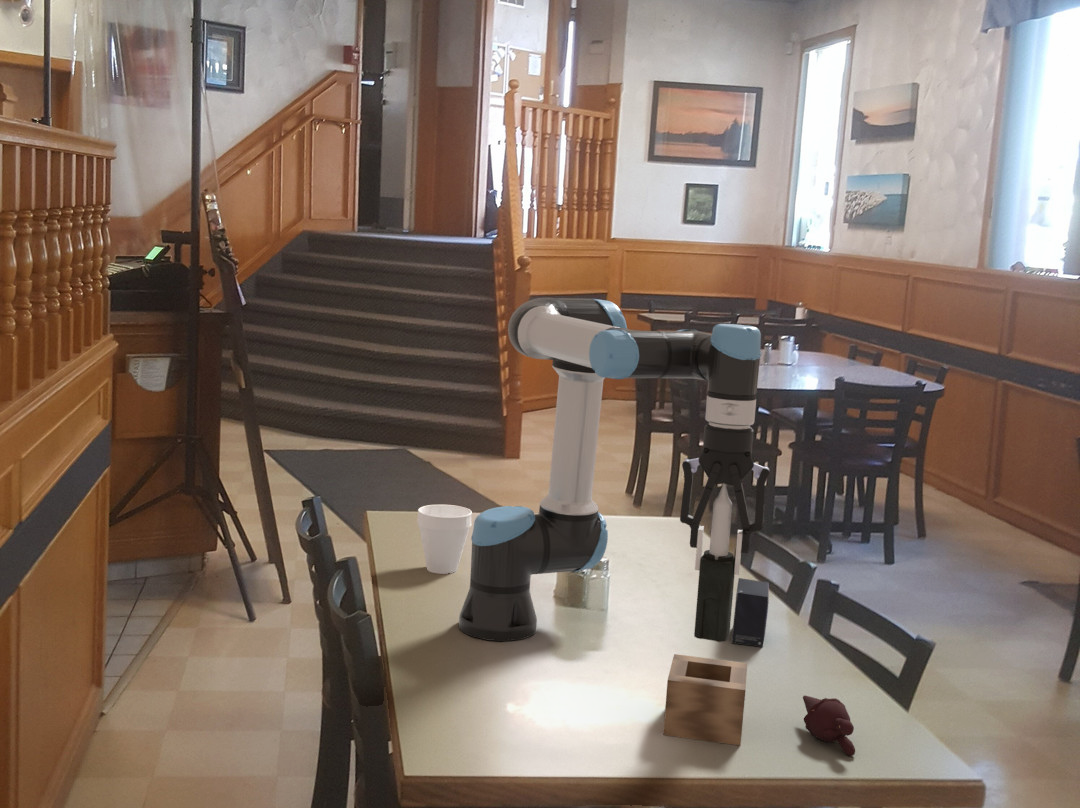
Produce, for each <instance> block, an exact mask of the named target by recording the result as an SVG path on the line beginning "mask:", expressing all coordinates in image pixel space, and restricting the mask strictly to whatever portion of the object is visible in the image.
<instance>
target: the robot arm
mask: <svg viewBox="0 0 1080 808" xmlns="http://www.w3.org/2000/svg"><path fill="white" fill-rule="evenodd" d="M507 328H508V329H507V333H508V339H509V341H510V344H511V345H512V346H513V348H514V349H515V350H516V352H518V353H520V354H521V355H523V356H525V357H528V358H531V359H535V360H536V359H537V360H551V361H552V364H551V367H552V369H553V370H554V371H555V373H556V374H557V375H558V384H557V396H556V397H557V398H556V405H555V406H556V408H555V418H554V428H553V439H552V450H551V462H550V473H549V484H548V493H547V495H546V496H545V497H543V498H542V499H541V500H540V501H539V509H538V513H534V511H533V509H531V508H529V507H526V506H519V505H516V506H512V505H505V506H498V507H493V508H489V509H487V510H484V511H482V512H480V513H479V514H478V515H477V516H476V517H475V519H474V521H473V528H472V535H471V538H470V539H471V555H470V556H471V558H470V559H471V560H470V579H469V580H470V581H469V590H468V592H467V595H466V597H465V599H464V602H463V605H462V607H461V610H460V613H459V617H458V628H459V630H460V631H461V632H463V633H464V634H466V635H467V636H471V637H474V638H477V639H481V640H488V641H496V642H497V641H498V642H500V641H501V642H502V641H503V642H504V641H507V642H508V641H517V640H522V639H523V640H524V639H527V638H529V637H531V636H533V635H534V634H535V633H536V632H537V625H538V624H537V623H538V620H537V614H536V611H535V607H534V602H533V599H532V596H531V591H530V590H531V586H530V585H531V577H532V576H533V575H541V574H555V573H556V574H557V573H577V572H580V571H585V570H590V569H593V568H595V566H596V565H598V564H599V563H600V562H601V560H602V559H603V558H604V556H605V553H606V551H607V545H608V539H609V536H608V535H609V534H608V531H609V530H608V529H607V521H606V519H605V517H604V516H603V514H601V513H600V512H599V506H598V504H597V503H596V502H595V500H593V490H594V489H593V488H594V479H595V468H596V459H597V449H598V448H597V447H598V438H599V429H600V419H601V418H600V417H601V409H602V408H601V407H602V397H603V388H604V380H605V379H613V380H624V379H696V380H700V381H706V382H707V392H706V403H705V404H706V405H705V406H706V407H705V417H704V419H705V421H707V423H706V424H705V426H704V432H703V442H702V451H701V453H700V454H699V457H697V458H692V459H689V458H685V459H684V460H683V462H682V470H683V475H684V478H683V479H684V482H683V489H682V496H681V498H682V499H681V508H680V516H679V522H680V523H682V524H686V525H688V526H689V528H690V536H689V546H690V548H694V549H696V553H695V564H694V565H695V566H694V570H695V571H699V570H700V559H701V557H702V556H703V543H704V531H705V530H704V529H705V525H700V523H701V521H702V519H703V515H704V513H705V510H706V508H707V505H708V502H709V501H710V497H711V494H712V492H713V489H714V487H715V485H722V484H723V483H725V484H727V486H733V492H734V496H735V501H736V504H737V505H736V506H737V510H738V514H739V521H740V525H741V529H737V535H736V548H735V557H736V558H735V570H734V574H735V575H740V571H741V570H740V569H741V557H742V556H741V555H742V554H748V552H749V549H750V537H751V534H752V533H754V532H757V531H758V532H760V531H762V530H763V526H764V525H763V523H764V521H763V520H764V508H765V507H764V506H765V504H764V503H765V486H766V485H765V484H766V482H767V480H768V477H769V475H770V467H769V466H766V465H763V466H762V465H760V464H758V463H756V462H755V461H754V458H753V454H752V452H753V439H754V429H753V428H752V427H751V426H753V425H754V423H755V419H756V407H757V406H756V405H757V392H758V384H759V383H758V382H759V371H760V365H761V364H760V362H761V356H762V351H761V344H762V343H761V340H762V337H761V336H762V334H761V331H760V329H759V328H758V327H756V326H752V325H745V324H744V325H743V324H736V323H719V324H718V323H717V324H715V325H714V326H713V327H712V333H710V332H709V333H707V332H704V331H700V330H697V329H677V330H674V331H673V330H638V329H637V330H636V329H635V330H634V329H628V326H627V322H626V319H625V316H624V315H623V312H622V310H621V309H620V308H619V306H618V305H617V304H616V303H614V302H612V301H610V300H606V299H605V300H604V299H600V298H599V299H597V298H582V297H581V298H580V297H577V298H576V297H575V298H573V297H572V298H571V297H570V298H569V297H567V298H564V297H561V298H560V297H557V298H556V297H538V298H537V297H536V298H534V299H533V298H532V299H531V300H528V301H526V302H523V303H522V304H521V305H520V306H519V307H517V308H516V309H515V310H514V311H513V313H512V315H511V316H510V319H509V321H508V326H507ZM698 466H700V467H701V468H702V471H704V473H705V475H706V477H707V480H706V484H705V486H704V488H703V491H702V494H701V497H700V498H699V501H698V505H697V507H696V509H695V513H694V515H690V510H691V501H692V492H693V485H694V484H693V481H694V474H695V473H696V472H697V471H698ZM751 471H753V478H754V479H756V491H755V492H756V493H755V511H754V512H755V514H754V521H751V520H750V516H749V510H748V507H747V502H746V497H745V496H746V495H745V490H744V485H743V480H744V478H746V477H747V475H748V474H749V472H751Z"/></svg>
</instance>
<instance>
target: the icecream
mask: <svg viewBox="0 0 1080 808" xmlns="http://www.w3.org/2000/svg"><path fill="white" fill-rule="evenodd" d="M802 700H803V702H804V705H805V709H806V713H807V714H805V715H804V717H803V722H804V724H805V729H806V730H807V731H808V732H809V733H810V735H811V736H813V737H816V738H817V739H819V740H821V741H825V742H828V743H835V742H837V743H838V745H839V746H840V748H841V749H842V751H843V752H844V753H845V754H846V755H847V756H849V757H852V756H853V757H854V755H855V754H856V748H855V746H854V743H853V742H852V741H851V740H850V739H849V738H848V737H847V736H851V735H852V734H853V733H854V729H855V727H854V724H853V723H852V721H851V717H850V715H849V711H848V710H847V709H846V705H845V704H844V703H843V702H841V700H839V698H835V697H834V698H826V697H824V698H822V699H821V698H816V697H813V696H809V695H806V694H805V695H803V696H802Z"/></svg>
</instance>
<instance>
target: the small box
mask: <svg viewBox="0 0 1080 808" xmlns="http://www.w3.org/2000/svg"><path fill="white" fill-rule="evenodd" d="M769 587H770V586H769V582H768V581H760V580H754V579H746V578H742V577H741V578H740V577H739V578H738V581H737V588H736V594H735V604H734V605H735V606H734V615H733V624H732V634H731V644H735V645H736V644H737V645H743V646H751V647H752V646H753V647H759V648H763V647H764V642H765V636H766V630H767V620H768V611H769V604H770V603H769V601H770V600H769V598H770V596H769V595H770V594H769V592H770V588H769Z"/></svg>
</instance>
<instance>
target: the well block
mask: <svg viewBox="0 0 1080 808" xmlns="http://www.w3.org/2000/svg"><path fill="white" fill-rule="evenodd" d="M747 672H748V663H747V662H739V661H731V660H723V659H716V658H709V657H700V656H693V655H684V654H677V653H676V654H673V656H672V662H671V664H670V670H669V673H668V677H667V684H666V693H665V694H666V695H665V696H666V697H665V707H664V708H665V709H664V720H663V722H664V723H663V731H662V733H663V735H664V736H671V737H678V738H683V739H684V738H685V739H691V740H698V741H706V742H712V743H719V744H727V745H734V746H741V744H742V743H741V742H742V736H743V735H742V733H743V724H744V723H743V721H744V713H745V712H744V710H745V700H746V690H747V689H746V688H747V676H748V673H747Z"/></svg>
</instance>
